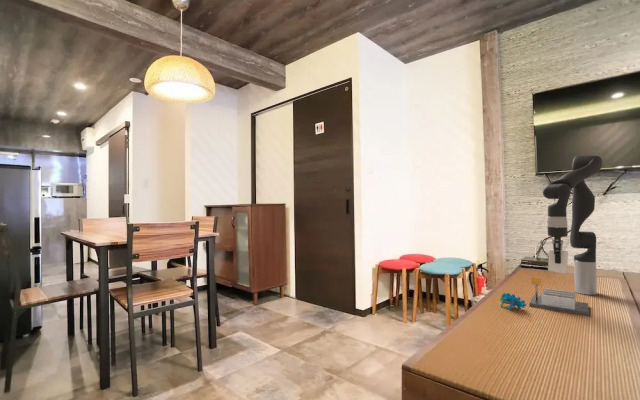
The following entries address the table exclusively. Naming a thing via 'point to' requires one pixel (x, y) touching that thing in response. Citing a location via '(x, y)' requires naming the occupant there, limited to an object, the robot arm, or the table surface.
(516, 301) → the blue bumpy plastic figure
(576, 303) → the rack
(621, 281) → the table surface
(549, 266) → the block
